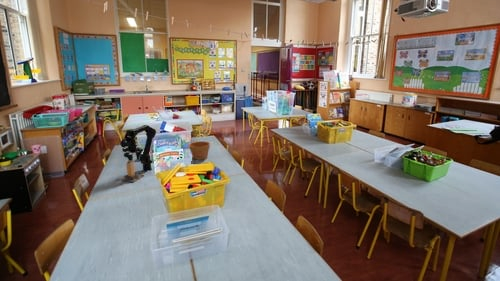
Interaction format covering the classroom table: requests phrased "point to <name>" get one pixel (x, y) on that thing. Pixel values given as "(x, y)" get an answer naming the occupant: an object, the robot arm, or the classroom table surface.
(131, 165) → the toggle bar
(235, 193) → the classroom table surface
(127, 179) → the keeper
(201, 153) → the flower pot
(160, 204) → the classroom table surface
